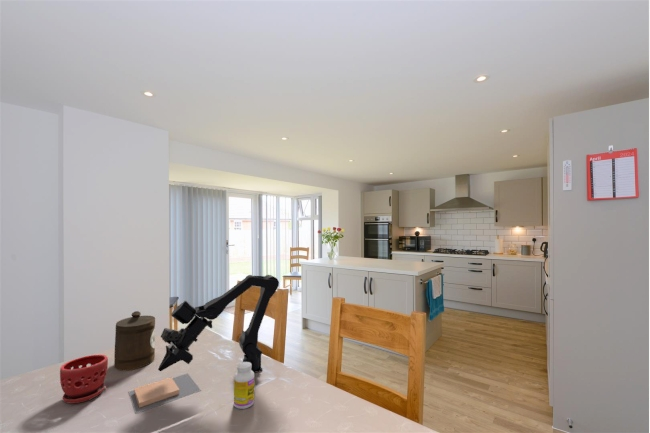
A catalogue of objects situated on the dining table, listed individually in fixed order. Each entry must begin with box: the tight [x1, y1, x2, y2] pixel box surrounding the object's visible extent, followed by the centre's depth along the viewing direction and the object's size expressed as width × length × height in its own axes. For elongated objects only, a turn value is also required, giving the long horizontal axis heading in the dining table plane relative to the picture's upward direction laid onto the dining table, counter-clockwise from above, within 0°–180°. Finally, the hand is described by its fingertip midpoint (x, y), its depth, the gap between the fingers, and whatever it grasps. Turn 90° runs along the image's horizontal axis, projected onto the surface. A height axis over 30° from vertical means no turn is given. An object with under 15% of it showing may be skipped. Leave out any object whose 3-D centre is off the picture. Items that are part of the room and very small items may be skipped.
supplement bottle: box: [233, 361, 255, 410], centre depth 100 cm, size 7×7×13 cm
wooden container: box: [113, 310, 156, 371], centre depth 129 cm, size 15×15×22 cm
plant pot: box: [59, 354, 109, 404], centre depth 104 cm, size 13×13×12 cm
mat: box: [128, 373, 202, 415], centre depth 106 cm, size 20×16×1 cm
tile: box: [133, 376, 179, 408], centre depth 104 cm, size 2×11×12 cm
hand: (159, 370), depth 105 cm, fingers closed
